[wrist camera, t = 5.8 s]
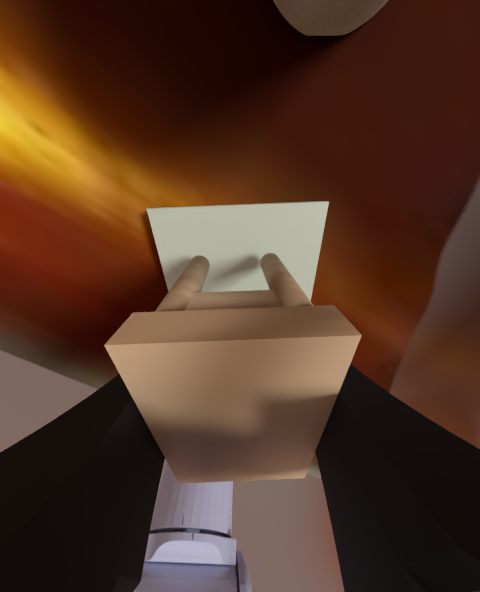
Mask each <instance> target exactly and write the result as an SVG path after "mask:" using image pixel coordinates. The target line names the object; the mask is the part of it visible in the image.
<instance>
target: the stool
mask: <svg viewBox="0 0 480 592" xmlns="http://www.w3.org/2000/svg"><path fill="white" fill-rule="evenodd" d="M260 265H261V268H262V271H263V273H264V276H265V279H266V281H267V284H268V287H269V289H270V290H253V291H225V292H201V290H202V287H203V284H204V281H205V278H206V276H207V273H208V270H209V267H210V264H209V261H208V260H207V258H205V257H204V256H200V255H197V256H194V257H193V258H192V259H191V261H190V262H189V264H188V265H187V266H186V268H185V269H184V271H183V272H182V274H181V275H180V276H179V278H178V279H177V281H176V282H175V284H174V285H173V286H172V288H171V289H170V291H169V292H168V294H167V295H166V296H165V298H164V299H163V301H162V302H161V304H160V305H159V306H158V308H157V309H156V311H155V312H135V313H132V314H131V315H130V317H129V318H128V319H127V320H126V321H125V322H124V323H123V324H122V326H121V327H120V328H119V329H118V330H117V331H116V332H115V334H114V335H113V336H112V337H111V338H110V339H109V340H108V341H107V343H106V344H105V345H104V346H105V348H106V350H107V351H108V353H109V355H110V357H111V359H112V361H113V363H114V364H115V366H116V368H117V370H118V372H119V374H120V376H121V377H122V379H123V381H124V383H125V385H126V387H127V389H128V390H129V392H130V394H131V396H132V398H133V400H134V402H135V403H136V405H137V407H138V409H139V411H140V413H141V415H142V416H143V418H144V420H145V422H146V424H147V426H148V428H149V429H150V431H151V433H152V435H153V437H154V439H155V440H156V442H157V444H158V446H159V448H160V450H161V452H162V453H163V455H164V457H165V459H166V461H167V463H168V465H169V466H170V468H171V470H172V472H173V474H174V476H175V478H176V479H177V481H178V483H179V484H184V483H206V482H227V481H248V480H269V479H291V478H305V476H306V474H307V471H308V469H309V466H310V464H311V461H312V459H313V456H314V454H315V451H316V449H317V446H318V443H319V441H320V438H321V436H322V433H323V431H324V428H325V426H326V423H327V421H328V418H329V416H330V413H331V411H332V408H333V406H334V403H335V401H336V398H337V396H338V393H339V391H340V388H341V386H342V383H343V381H344V378H345V376H346V373H347V371H348V368H349V366H350V363H351V361H352V358H353V356H354V353H355V351H356V348H357V346H358V343H359V341H360V338H361V336H362V335H361V334H360V333H359V332H358V331H357V330H356V329H355V327H354V326H353V325H352V324H351V323H350V322H349V321H348V320H347V319H346V318H345V317H344V316H343V314H342V313H341V312H340V311H339V310H338V309H337V308H336V307H335V306H334V305H325V306H313V304H312V303H311V301H310V300H309V299H308V297H307V296H306V295H305V293H304V292H303V290H302V289H301V288H300V286H299V285H298V284H297V282H296V281H295V279H294V278H293V277H292V275H291V274H290V273H289V271H288V270H287V269H286V267H285V266H284V264H283V263H282V262H281V260H280V259H279V258H278V256H277V255H276V254H274V253H267V254H265V255H264V256H263V257H262V258H261V260H260Z"/></svg>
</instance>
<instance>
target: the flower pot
mask: <svg viewBox="0 0 480 592" xmlns="http://www.w3.org/2000/svg"><path fill="white" fill-rule="evenodd" d="M273 1H274V3H275V5H276V6H277V8H278V10H279V11H280V13H281V14H282V15H283V16H284V18H285V19H286V20H287V21H288V22H289V23H290V25H292V26H293V27H294V28H295V29H297V30H298V31H299V32H301V33H303V34H304V35H307V36H327V35H332V36H337V35H345V34H348V33H349V32H351V31H353V30H355V29H356V28H358V27H359V26H361V25H362V24H364V23H365V22H366V21H368V20H369V19H370V18H371V17H372V16H374V15H375V14H376V13H377V12H378V11H379V10H380V9H381V8H382V7H383V6H384V5H385V4H386V2H387V1H388V0H273Z"/></svg>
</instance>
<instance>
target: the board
mask: <svg viewBox="0 0 480 592" xmlns="http://www.w3.org/2000/svg"><path fill="white" fill-rule="evenodd" d="M328 204H329V202H327V201H312V202H287V203H262V204H237V205H211V206H186V207H161V208H149V209H147V213H148V216H149V220H150V224H151V228H152V232H153V235H154V239H155V243H156V247H157V250H158V254H159V258H160V262H161V266H162V269H163V273H164V277H165V281H166V284H167V288H168V292H169V291H170V289H171V288H172V286H173V285H174V284H175V282H176V281H177V279H178V278H179V276H180V275H181V274H182V272H183V271H184V269H185V268H186V266H187V265H188V264H189V262H190V261H191V259H192V258H193V257H194V256H197V255H200V256H204V257H205V258H207V260H208V261H209V264H210V267H209V270H208V273H207V276H206V278H205V281H204V284H203V287H202V290H201V292H225V291H253V290H270V289H269V287H268V284H267V281H266V279H265V276H264V273H263V271H262V268H261V265H260V260H261V258H262V257H263V256H264V255H265V254H267V253H274V254H276V255H277V256H278V258H279V259H280V260H281V262H282V263H283V264H284V266H285V267H286V269H287V270H288V271H289V273H290V274H291V275H292V277H293V278H294V279H295V281H296V282H297V284H298V285H299V286H300V288H301V289H302V290H303V292H304V293H305V295H306V296H307V297H308V299H309V300H310V301H311V296H312V290H313V285H314V280H315V274H316V269H317V263H318V258H319V253H320V247H321V242H322V237H323V231H324V226H325V220H326V215H327V210H328Z"/></svg>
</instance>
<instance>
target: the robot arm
mask: <svg viewBox="0 0 480 592" xmlns="http://www.w3.org/2000/svg"><path fill="white" fill-rule="evenodd" d="M316 456H317V460H318V464H319V469H320V473H321V478H322V482H323V486H324V491H325V496H326V500H327V505H328V510H329V515H330V519H331V524H332V529H333V534H334V539H335V544H336V549H337V554H338V559H339V564H340V570H341V575H342V580H343V586H344V591H345V592H480V449H478V448H476V447H475V446H473V445H471V444H469V443H468V442H466V441H465V440H463V439H461V438H459V437H458V436H456V435H454V434H453V433H451V432H449V431H448V430H446V429H444V428H442V427H441V426H439V425H438V424H436V423H434V422H433V421H431V420H430V419H428V418H426V417H425V416H423V415H422V414H420V413H419V412H417V411H415V410H414V409H412V408H411V407H409V406H408V405H406V404H405V403H403V402H402V401H400V400H399V399H397V398H396V397H394V396H392V395H391V394H390V393H388V392H387V391H386V390H384V389H383V388H381V387H380V386H379V385H377V384H376V383H374V382H373V381H372V380H370V379H369V378H368V377H366V376H365V375H364V374H362V373H361V372H360V371H358V370H357V369H356V368H355V367H354V366H352V365H351V364H350V366H349V368H348V371H347V373H346V376H345V378H344V381H343V383H342V386H341V388H340V391H339V393H338V396H337V398H336V401H335V403H334V406H333V408H332V411H331V413H330V416H329V418H328V421H327V423H326V426H325V428H324V431H323V433H322V436H321V438H320V441H319V443H318V446H317V449H316ZM164 459H165V457H164V455H163V453H162V452H161V450H160V448H159V446H158V444H157V442H156V440H155V439H154V437H153V435H152V433H151V431H150V429H149V428H148V426H147V424H146V422H145V420H144V418H143V416H142V415H141V413H140V411H139V409H138V407H137V405H136V403H135V402H134V400H133V398H132V396H131V394H130V392H129V390H128V389H127V387H126V385H125V383H124V381H123V379H122V377H121V376H120V374H118V375H117V376H116V377H115V378H113V379H112V380H111V381H109V382H108V383H107V384H105V385H104V386H103V387H101V388H100V389H99V390H97V391H96V392H94V393H93V394H92V395H90V396H89V397H88V398H86V399H84V400H83V401H81V402H80V403H78V404H77V405H75V406H74V407H72V408H71V409H69V410H68V411H66V412H65V413H64V414H62V415H60V416H59V417H57V418H56V419H54V420H53V421H51V422H50V423H48V424H47V425H45V426H43V427H42V428H40V429H39V430H37V431H35V432H34V433H32V434H30V435H29V436H27V437H26V438H24V439H22V440H20V441H19V442H17V443H15V444H14V445H12V446H11V447H9V448H7V449H5V450H4V451H2V452H0V592H252V589H251V581H250V575H249V570H248V567H247V564H246V563H245V561H244V558H243V555H242V553H241V551H239V550H236V539H235V538H231V525H232V524H231V523H232V492H233V481H227V482H206V483H184V484H179V483H178V481H177V479H176V478H175V476H174V474H173V472H172V470H171V468H170V466H169V465H168V463H166V467H165V470H164V474H163V477H162V481H161V485H160V488H159V492H158V495H157V491H158V487H159V482H160V477H161V473H162V468H163V463H164ZM156 497H157V499H156Z"/></svg>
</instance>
